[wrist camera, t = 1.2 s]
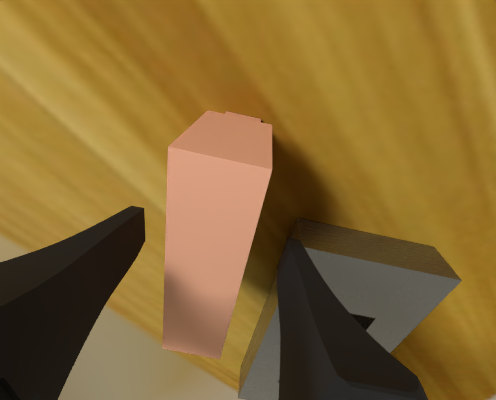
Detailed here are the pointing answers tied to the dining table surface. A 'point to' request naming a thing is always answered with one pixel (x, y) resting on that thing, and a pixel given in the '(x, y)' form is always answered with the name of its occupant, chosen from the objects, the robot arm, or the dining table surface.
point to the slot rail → (353, 294)
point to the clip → (211, 225)
